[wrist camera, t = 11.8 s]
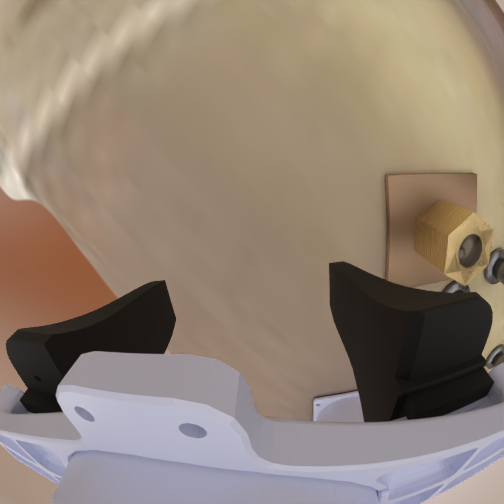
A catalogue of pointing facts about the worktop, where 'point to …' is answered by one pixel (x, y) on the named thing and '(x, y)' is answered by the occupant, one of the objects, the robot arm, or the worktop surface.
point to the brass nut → (453, 240)
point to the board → (404, 220)
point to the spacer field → (499, 269)
